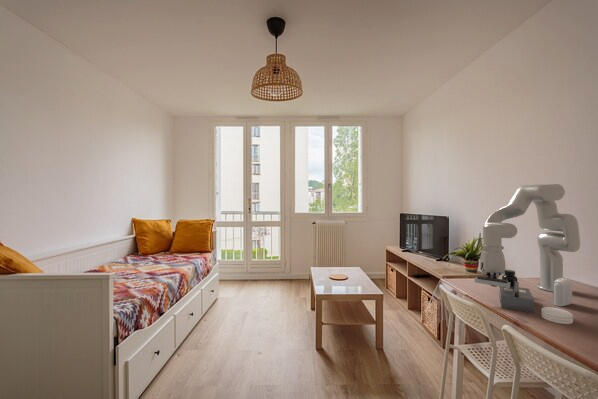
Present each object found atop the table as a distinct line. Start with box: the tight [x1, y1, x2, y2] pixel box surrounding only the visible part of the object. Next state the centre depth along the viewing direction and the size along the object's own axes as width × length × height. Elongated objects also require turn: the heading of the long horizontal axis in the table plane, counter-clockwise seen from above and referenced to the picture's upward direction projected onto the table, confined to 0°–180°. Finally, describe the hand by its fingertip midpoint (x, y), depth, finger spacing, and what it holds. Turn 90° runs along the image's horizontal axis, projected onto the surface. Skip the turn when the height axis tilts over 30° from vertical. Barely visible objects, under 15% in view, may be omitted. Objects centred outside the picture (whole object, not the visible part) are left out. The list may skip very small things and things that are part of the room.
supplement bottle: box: [501, 269, 519, 287], centre depth 153 cm, size 7×7×12 cm
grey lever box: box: [498, 281, 535, 314], centre depth 137 cm, size 18×12×12 cm, turn 147°
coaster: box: [540, 306, 574, 325], centre depth 120 cm, size 10×10×4 cm
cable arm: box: [474, 275, 510, 288], centre depth 138 cm, size 14×3×3 cm, turn 47°
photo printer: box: [552, 277, 573, 307], centre depth 136 cm, size 10×4×12 cm, turn 115°
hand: (493, 285), depth 141 cm, fingers closed
